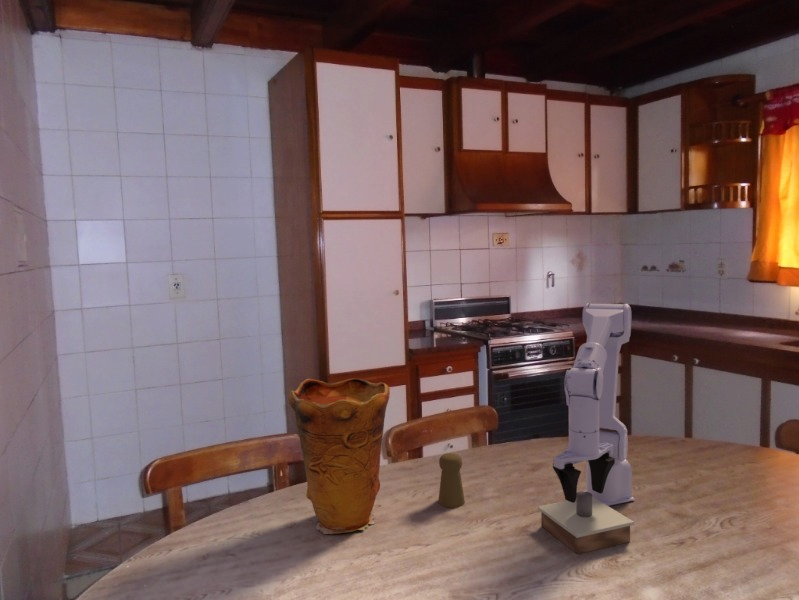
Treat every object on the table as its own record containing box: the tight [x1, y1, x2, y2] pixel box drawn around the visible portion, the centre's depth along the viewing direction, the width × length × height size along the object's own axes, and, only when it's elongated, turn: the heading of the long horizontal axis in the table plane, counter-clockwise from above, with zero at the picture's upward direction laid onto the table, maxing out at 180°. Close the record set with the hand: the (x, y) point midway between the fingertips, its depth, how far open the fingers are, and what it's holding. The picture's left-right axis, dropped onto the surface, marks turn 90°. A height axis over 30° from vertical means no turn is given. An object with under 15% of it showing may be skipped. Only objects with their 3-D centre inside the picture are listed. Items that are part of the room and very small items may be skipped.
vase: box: [288, 377, 391, 535], centre depth 124 cm, size 21×20×30 cm
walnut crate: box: [540, 511, 631, 555], centre depth 118 cm, size 12×12×4 cm
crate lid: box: [537, 490, 635, 538], centre depth 118 cm, size 13×13×5 cm
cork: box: [438, 452, 466, 509], centre depth 134 cm, size 6×6×11 cm
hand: (584, 496), depth 117 cm, fingers open, 7 cm apart
